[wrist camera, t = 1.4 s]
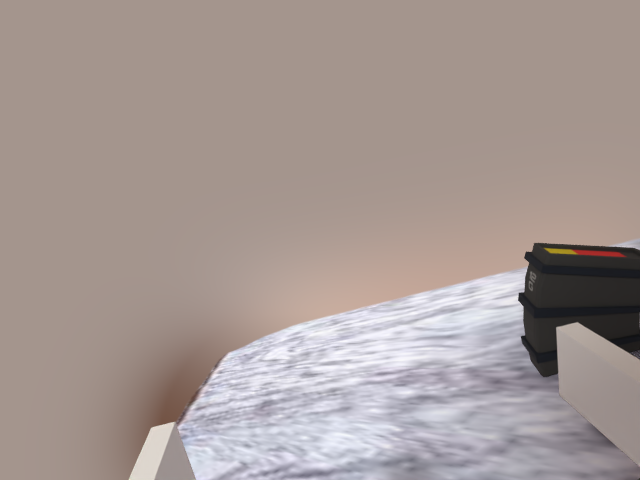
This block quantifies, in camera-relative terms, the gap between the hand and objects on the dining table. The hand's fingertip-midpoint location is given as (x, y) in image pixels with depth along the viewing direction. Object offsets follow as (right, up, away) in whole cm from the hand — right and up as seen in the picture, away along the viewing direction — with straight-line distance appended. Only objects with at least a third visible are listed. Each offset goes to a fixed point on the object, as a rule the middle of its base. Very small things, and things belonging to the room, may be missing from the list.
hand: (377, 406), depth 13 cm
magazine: (+29, -7, +31) cm, 43 cm away
